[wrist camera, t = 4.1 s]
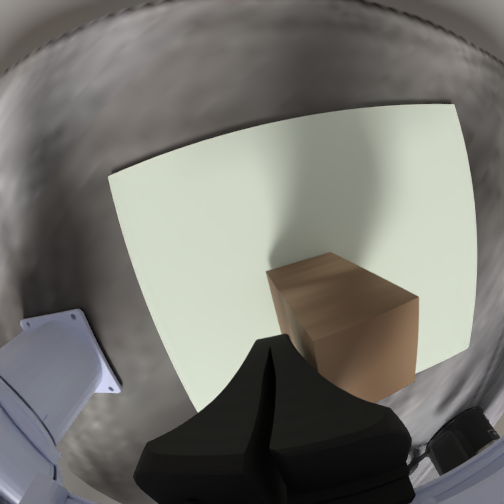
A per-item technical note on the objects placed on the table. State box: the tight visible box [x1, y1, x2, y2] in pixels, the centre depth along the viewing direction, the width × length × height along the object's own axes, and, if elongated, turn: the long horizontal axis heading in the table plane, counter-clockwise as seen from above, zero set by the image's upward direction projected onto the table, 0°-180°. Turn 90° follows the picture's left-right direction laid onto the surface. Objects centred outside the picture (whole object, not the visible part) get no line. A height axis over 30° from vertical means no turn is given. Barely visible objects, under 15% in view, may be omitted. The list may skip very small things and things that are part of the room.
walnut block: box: [266, 252, 419, 403], centre depth 12 cm, size 4×4×8 cm
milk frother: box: [408, 407, 500, 476], centre depth 14 cm, size 14×16×15 cm
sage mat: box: [108, 104, 477, 413], centre depth 16 cm, size 24×20×1 cm
